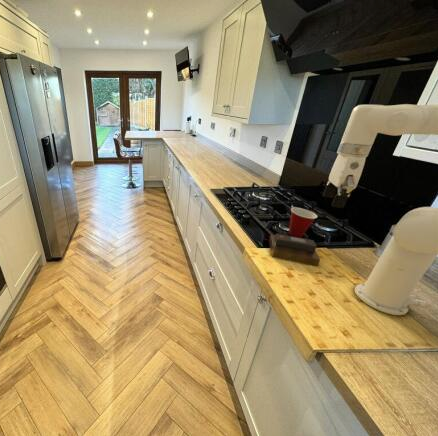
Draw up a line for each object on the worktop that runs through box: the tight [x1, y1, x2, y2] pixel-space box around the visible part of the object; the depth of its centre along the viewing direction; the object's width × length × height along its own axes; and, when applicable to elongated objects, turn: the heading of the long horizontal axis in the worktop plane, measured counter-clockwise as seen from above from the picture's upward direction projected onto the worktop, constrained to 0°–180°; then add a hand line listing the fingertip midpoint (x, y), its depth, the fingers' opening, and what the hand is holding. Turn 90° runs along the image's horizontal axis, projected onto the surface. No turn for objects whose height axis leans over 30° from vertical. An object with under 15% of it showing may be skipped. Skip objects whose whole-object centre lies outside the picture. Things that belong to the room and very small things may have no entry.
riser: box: [268, 234, 321, 267], centre depth 98 cm, size 16×14×3 cm
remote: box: [274, 233, 318, 253], centre depth 96 cm, size 14×5×3 cm, turn 70°
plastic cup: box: [288, 207, 318, 238], centre depth 110 cm, size 11×11×12 cm
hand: (332, 201), depth 79 cm, fingers open, 9 cm apart
